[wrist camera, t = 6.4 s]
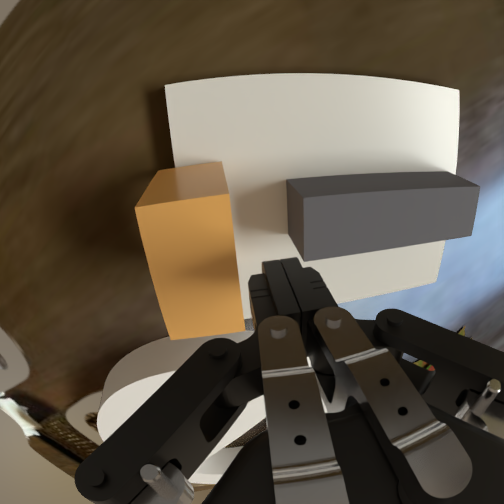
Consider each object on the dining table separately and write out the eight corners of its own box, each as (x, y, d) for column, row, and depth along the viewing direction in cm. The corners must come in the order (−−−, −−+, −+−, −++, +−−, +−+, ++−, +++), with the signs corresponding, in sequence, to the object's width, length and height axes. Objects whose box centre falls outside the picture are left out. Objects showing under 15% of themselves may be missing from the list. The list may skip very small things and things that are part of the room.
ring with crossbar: (338, 298, 28) (358, 332, 24) (329, 436, 41) (337, 461, 37) (61, 346, 27) (47, 380, 22) (155, 463, 40) (155, 488, 36)
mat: (167, 86, 18) (164, 85, 16) (447, 88, 19) (459, 90, 18) (204, 312, 26) (204, 324, 25) (427, 274, 28) (435, 282, 27)
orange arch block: (158, 170, 18) (134, 207, 12) (221, 161, 19) (229, 193, 13) (178, 272, 22) (170, 340, 16) (233, 265, 22) (245, 331, 16)
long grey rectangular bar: (286, 179, 20) (303, 197, 17) (447, 171, 21) (480, 186, 18) (288, 234, 22) (303, 261, 19) (442, 216, 23) (471, 235, 20)
